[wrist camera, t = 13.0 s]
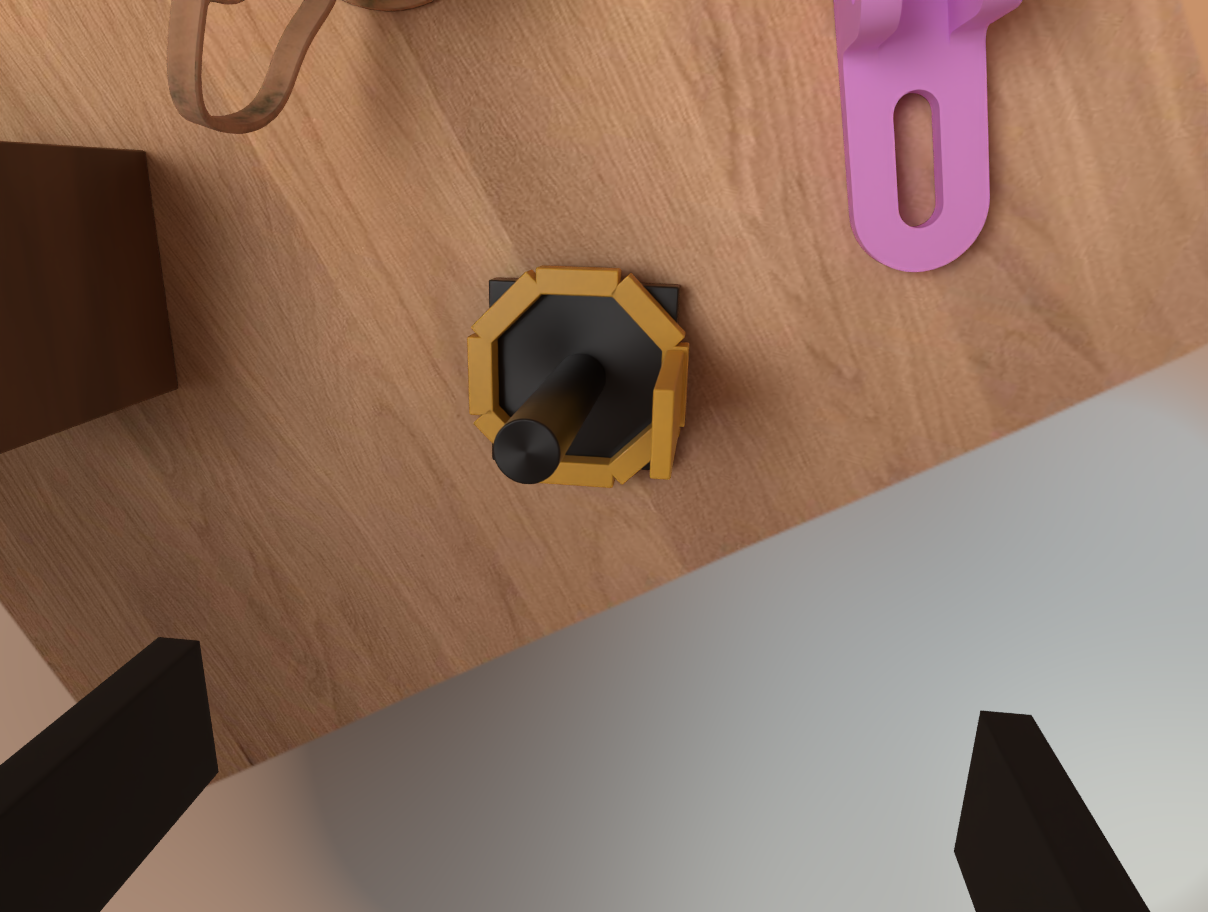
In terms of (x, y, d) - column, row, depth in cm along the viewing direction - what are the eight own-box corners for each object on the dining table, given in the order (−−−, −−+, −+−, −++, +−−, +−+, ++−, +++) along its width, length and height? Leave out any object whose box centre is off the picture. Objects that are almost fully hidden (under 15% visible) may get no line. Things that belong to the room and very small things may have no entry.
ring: (477, 471, 42) (414, 544, 34) (472, 262, 39) (401, 283, 30) (681, 484, 41) (671, 564, 32) (693, 270, 38) (685, 295, 29)
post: (498, 453, 43) (407, 560, 31) (494, 277, 40) (394, 316, 28) (671, 464, 42) (650, 579, 30) (680, 284, 39) (661, 328, 27)
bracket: (830, -38, 35) (856, -91, 28) (972, -67, 34) (1033, -130, 27) (853, 277, 38) (881, 295, 32) (981, 258, 37) (1038, 273, 31)
